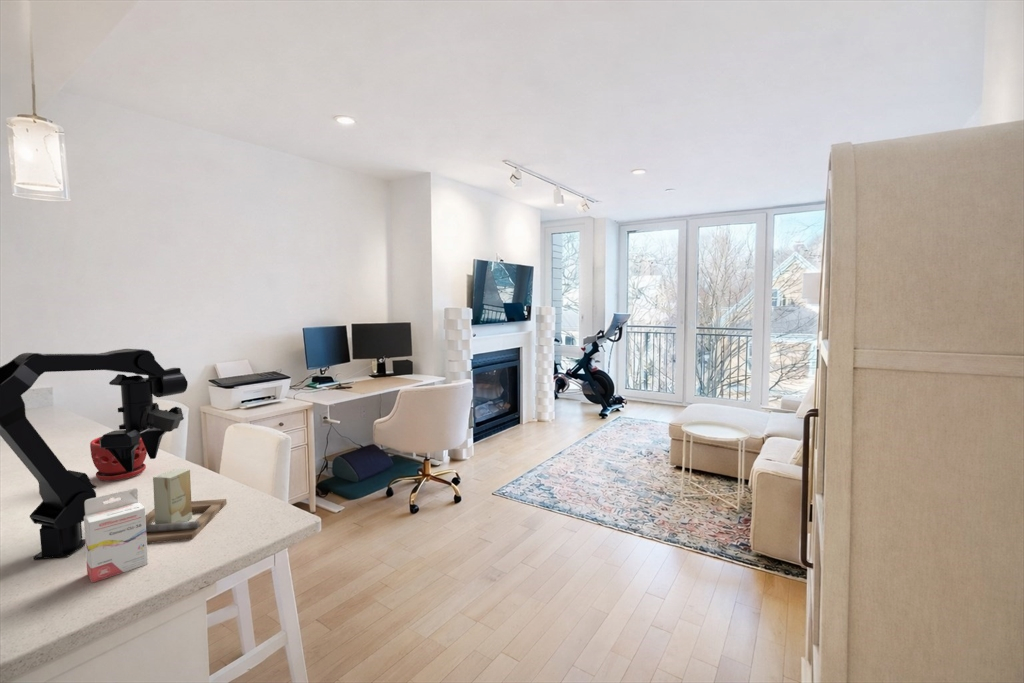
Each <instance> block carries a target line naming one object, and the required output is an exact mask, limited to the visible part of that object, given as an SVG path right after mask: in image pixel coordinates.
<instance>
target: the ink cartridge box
mask: <svg viewBox="0 0 1024 683" xmlns="http://www.w3.org/2000/svg"><path fill="white" fill-rule="evenodd" d="M138 492H139V491H138V488H131V489H130V488H129V489H127V490H122V491H117V492H114V493H113V492H112V493H108V494H105V495H100V496H96V498H91V499H87V500H85V502H84V505H85V516H84V521H83V525H84V539H85V545H84V546H85V558H86V559H85V560H86V562H85V563H86V574H87V575H88V578H89V579H90V581H91V583H96V582H98V581H99V582H100V581H102V580H105V579H108V578H111V577H114V576H116V575H119V574H120V575H121V574H122V573H126V572H128V571H129V572H130V571H131V570H134V569H138V568H140V567H143V566H146V565H148V564H149V561H148V560H149V559H148V556H149V555H148V543H147V535H146V517H145V515H146V508H145V506H144V505H143V504H142V503H141V502H139V497H138V496H139V494H138ZM112 498H113V499H119V498H121V499H120V500H115V501H112V502H111V501H110V502H108V503H104V502H106V501H109V500H111V499H112Z"/></svg>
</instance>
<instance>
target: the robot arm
mask: <svg viewBox="0 0 1024 683" xmlns="http://www.w3.org/2000/svg"><path fill="white" fill-rule="evenodd" d="M181 370H182V369H181V368H180V367H170V368H166V369H164V368H163V367H162V365H160V364H159V362H158V361H157V360H156V358H155V355H154V354H153V353H152V351H151V350H148V349H143V348H142V349H139V348H121V349H115V350H111V351H110V350H109V351H105V352H100V353H38V352H23V353H21V354H19V355H17V356H15V357H14V358H13V359H12V360H10V361H8V362H7V363H5V364H4V365H1V366H0V437H1V438H2V439H3V441H4V442H5V443H6V444H7V446H8V447H10V449H11V450H12V451H13V453H14V455H16V456H17V458H18V459H19V460H20V461H21V463H22V464H23V465H24V466H25V467H26V468H27V470H28V471H29V472H30V474H31V475H32V476H33V477H34V478H35V479H36V481H37V482H38V490H39V495H40V498H41V499H42V501H41V502H40V504H38V506H37V507H36V508H35V509H34V510H33V512H31V513H30V514H29V518H30V520H31V521H32V523H33V524H34V525H41V527H40V529H39V540H40V550H41V551H39V552H38V553H37V554H35V555H33V556H32V560H40V559H41V560H42V559H53V558H62V557H63V558H65V557H70V556H72V555H73V554H74V553H75V552H77V551H78V550H80V549H81V548H83V547H84V546H85V538H83V530H82V529H83V528H82V527H83V526H82V522H84V516H85V505H84V502H85V500H87V499H91V498H96V497H97V493H96V491H95V489H96V488H97V487H98V486H97V485H94V483H92V482H91V480H90V478H89V475H88V474H87V473H85V472H81V471H76V470H75V471H74V470H69V469H66V467H65V466H64V464H63V463H62V462H61V461H60V459H59V458H58V457H57V455H55V453H54V452H53V451H52V449H51V448H50V446H49V445H48V443H47V442H46V441H45V440H44V439H43V437H42V436H41V435H40V434H39V432H38V431H37V430H36V429H35V427H34V426H33V424H32V423H31V422H30V421H29V420H28V417H27V412H26V404H25V401H24V399H23V397H22V395H23V394H25V393H26V392H27V391H29V390H30V389H31V388H32V387H33V385H34V384H35V383H36V382H37V380H38V378H39V377H40V376H41V375H43V374H44V373H51V372H52V373H55V372H57V373H58V372H82V371H86V372H87V371H89V372H90V371H109V372H117V373H118V374H117V375H116V376H115V377H114V378H113V379H111V380H110V381H109V382H108V384H109V385H110V386H119V387H120V395H121V396H120V397H121V406H120V407H118V408H117V413H122V420H123V422H122V423H121V424H119V425H118V430H116V429H115V430H112V431H109V432H107V433H105V434H102V436H100V437H101V438H100V439H99V441H100V447H101V448H105V450H109V451H110V452H111V454H112V455H113V456H114V457H115V458H116V459H117V460H118V461H119V463H120V464H121V465H122V466H123V468H124V469H125V470H126V471H127V472H132V471H133V468H134V456H135V449H136V448H137V447H138V446H139V445H140V444H141V442H139V440H140V438H142V441H143V443H144V446H145V448H146V451H147V456H148V458H149V459H150V460H154V459H156V458H157V455H158V452H159V449H160V444H161V442H162V439H163V436H164V435H165V434H166V433H167V432H168V433H169V432H173V430H176V429H179V426H180V423H181V421H184V418H185V417H184V414H183V410H182V407H178V406H173V407H172V408H170V409H169V410H168V409H165V410H164V409H160V407H159V404H158V402H154V398H153V396H154V397H155V398H163V397H168V396H173V395H174V396H175V395H179V394H184V393H185V392H186V391H187V388H188V380H187V378H186V376H185V375H184V373H182V371H181ZM121 373H127V374H128V373H129V374H135V375H131V376H130V375H129V376H127V375H125V374H121ZM143 376H147V377H143ZM140 436H141V437H140ZM138 442H139V443H138Z"/></svg>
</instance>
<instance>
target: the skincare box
mask: <svg viewBox="0 0 1024 683" xmlns="http://www.w3.org/2000/svg"><path fill="white" fill-rule="evenodd" d="M152 480H153V481H152V482H153V484H152V485H153V486H152V487H153V504H154V505H153V506H154V507H153V509H154V510H155V521H154V524H166V523H179V522H189V521H190V520H192V518H193V513H192V504H191V501H192V490H191V489H192V488H191V485H192V484H191V483H192V482H191V469H186V468H185V469H184V468H183V469H182V468H174V469H171V470H169V471H166V472H163V473H161V474H159V475H156V476H153V477H152Z"/></svg>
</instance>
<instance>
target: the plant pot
mask: <svg viewBox="0 0 1024 683" xmlns="http://www.w3.org/2000/svg"><path fill="white" fill-rule="evenodd" d="M101 437H102V436H99V437H97V438H94V439H92V440H91V441H90V443H89V447H90V456H91V460H92V462H93V465H94V467H95V468H96V469H97V472H96V473H95V477H96V478H97V479H99V480H100V481H105V482H106V481H108V482H110V481H112V482H115V481H121V479H122V480H126V479H129V478H133V477H135V476H138V475H140V474H142V473H143V472H144V471H145V469H146V468H147V465H146V464H145V463H144V462H145V460H146V458H147V456H148V453H147V451H146V448H145V446H144V443H143V441H142V438H140V440H139V442H141V444H140V445H139V446H138V447H137V448H136V449H135V456H134V468H133V471H132V472H127V471H126V470H125V469H124V468H123V466H122V465H121V464H120V463H119V461H118V460H117V459H116V458H115V457H114V456H113V455H112V454H111V452H110V451H109V450H105V448H101V447H100V441H99V439H100V438H101ZM140 437H141V436H140ZM139 442H138V443H139Z"/></svg>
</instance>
